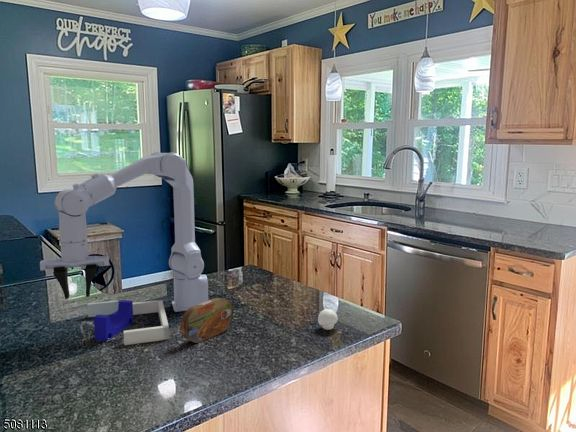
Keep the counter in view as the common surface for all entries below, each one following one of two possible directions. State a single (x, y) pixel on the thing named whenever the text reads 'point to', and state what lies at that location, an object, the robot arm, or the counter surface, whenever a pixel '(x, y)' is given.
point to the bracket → (152, 332)
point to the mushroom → (327, 319)
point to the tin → (206, 319)
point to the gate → (102, 308)
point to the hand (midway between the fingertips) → (77, 296)
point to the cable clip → (113, 321)
